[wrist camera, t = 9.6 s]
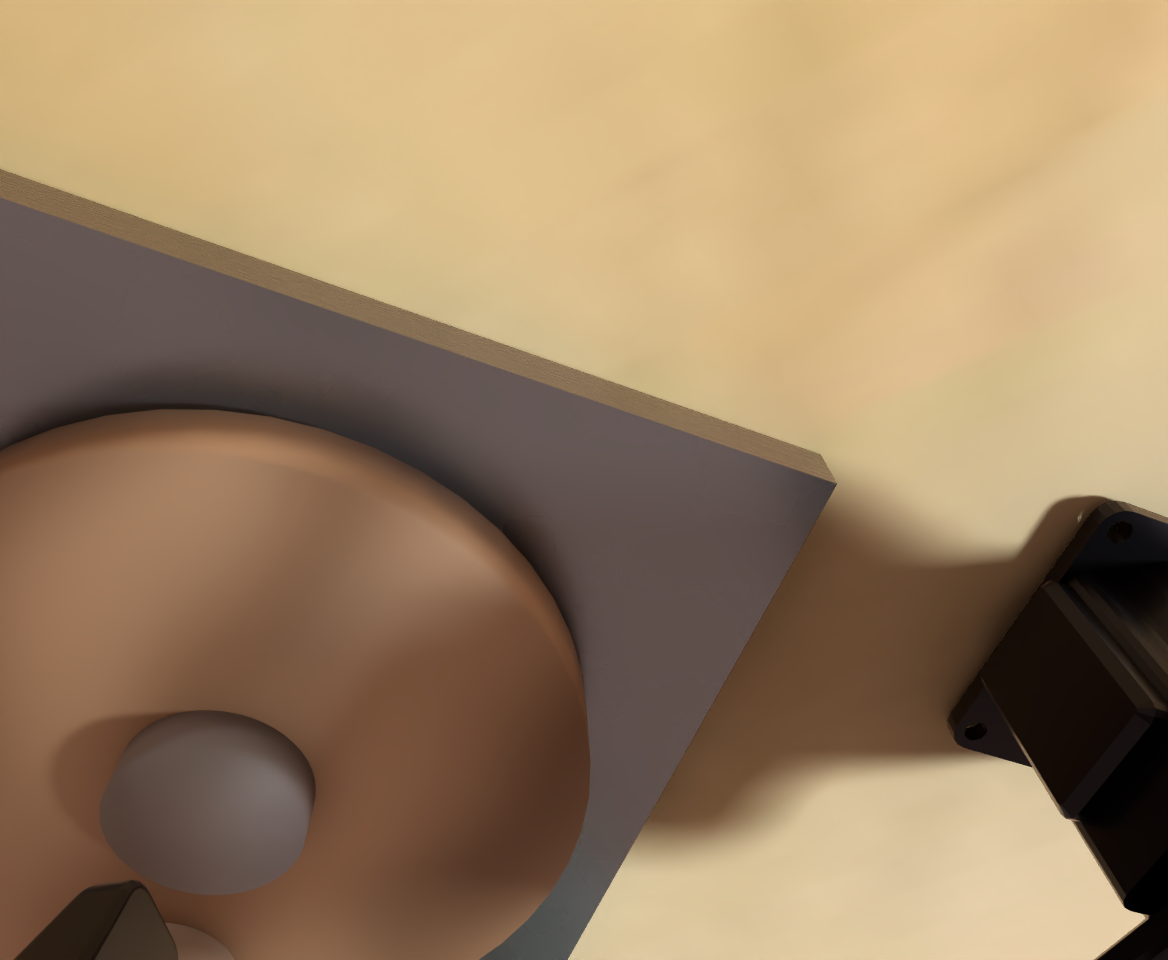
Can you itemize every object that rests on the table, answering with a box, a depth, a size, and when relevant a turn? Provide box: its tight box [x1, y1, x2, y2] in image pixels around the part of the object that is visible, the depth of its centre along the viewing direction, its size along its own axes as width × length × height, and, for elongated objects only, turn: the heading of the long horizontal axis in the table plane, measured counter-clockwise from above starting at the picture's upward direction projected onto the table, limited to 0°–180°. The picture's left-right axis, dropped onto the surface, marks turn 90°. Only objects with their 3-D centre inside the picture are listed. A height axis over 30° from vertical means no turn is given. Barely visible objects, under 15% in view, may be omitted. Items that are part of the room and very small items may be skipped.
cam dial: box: [0, 409, 591, 960], centre depth 18 cm, size 14×14×8 cm
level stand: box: [0, 169, 837, 960], centre depth 20 cm, size 18×18×5 cm
